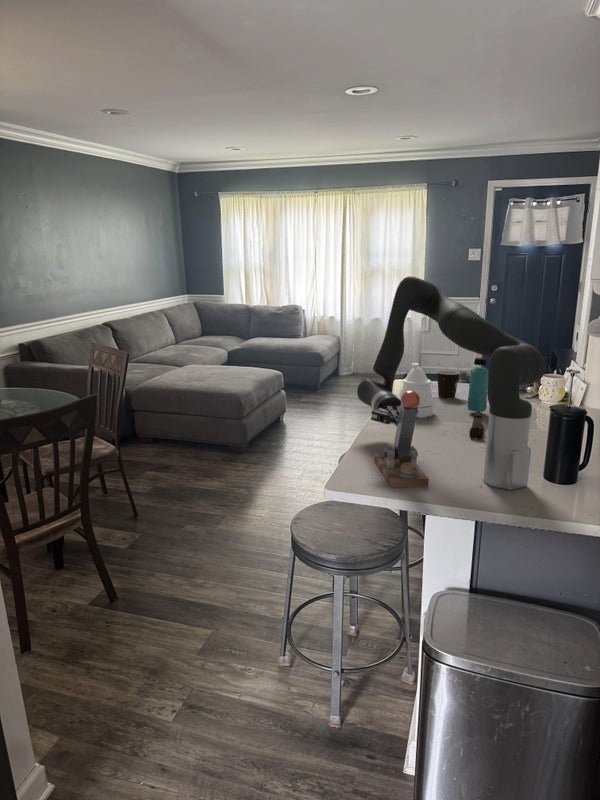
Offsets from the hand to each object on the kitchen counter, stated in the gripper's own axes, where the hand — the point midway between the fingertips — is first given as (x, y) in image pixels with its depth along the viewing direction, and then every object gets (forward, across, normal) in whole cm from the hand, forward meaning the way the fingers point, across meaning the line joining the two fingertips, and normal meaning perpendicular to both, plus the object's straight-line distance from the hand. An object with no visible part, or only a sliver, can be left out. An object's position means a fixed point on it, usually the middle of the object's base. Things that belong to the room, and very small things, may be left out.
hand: (403, 424), depth 133 cm
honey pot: (-58, +20, +14) cm, 63 cm away
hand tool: (-36, +34, +14) cm, 51 cm away
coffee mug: (-80, +38, +14) cm, 90 cm away
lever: (0, 0, +10) cm, 10 cm away
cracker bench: (-1, 0, +13) cm, 13 cm away
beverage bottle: (-55, +42, +14) cm, 71 cm away
